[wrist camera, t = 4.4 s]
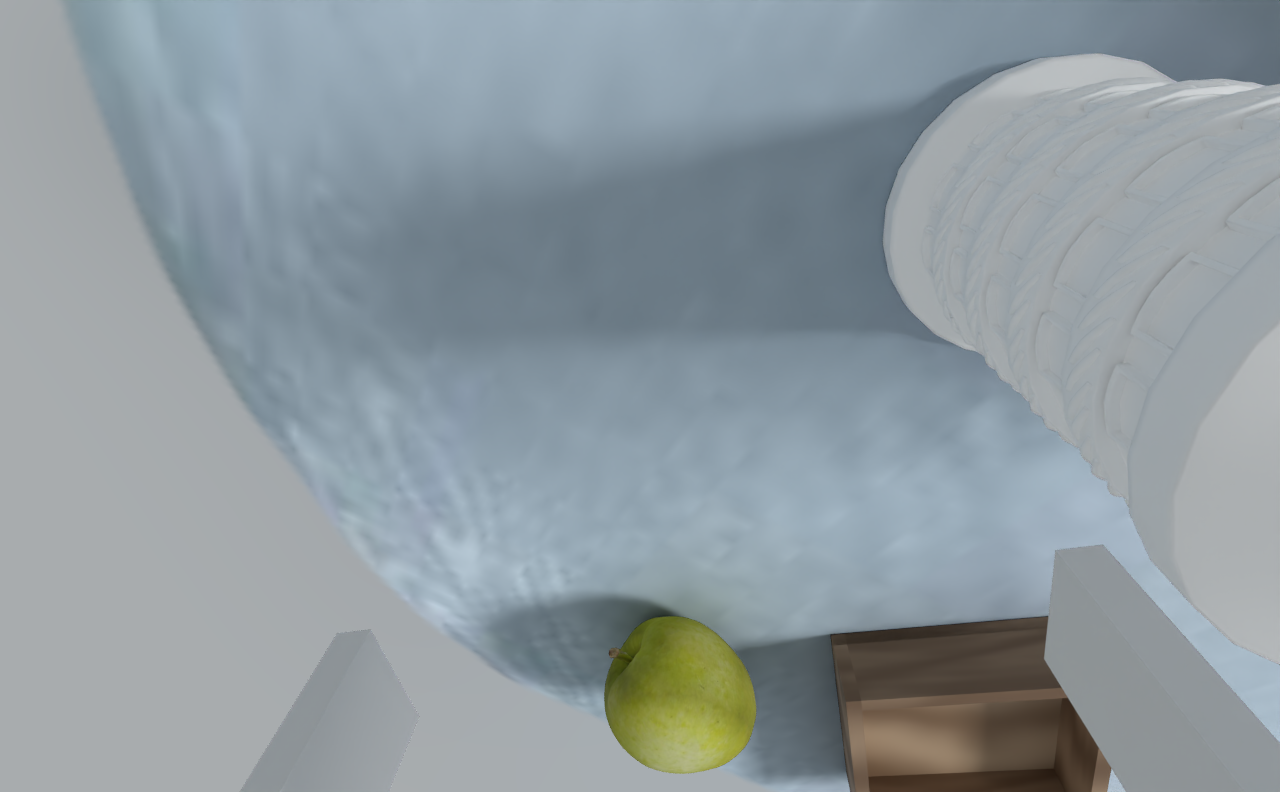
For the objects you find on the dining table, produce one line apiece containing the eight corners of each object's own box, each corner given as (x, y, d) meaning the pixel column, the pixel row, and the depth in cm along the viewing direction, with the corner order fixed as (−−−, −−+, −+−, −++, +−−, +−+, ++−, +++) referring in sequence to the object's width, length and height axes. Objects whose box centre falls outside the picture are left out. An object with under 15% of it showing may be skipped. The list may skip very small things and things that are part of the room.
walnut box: (830, 634, 38) (845, 701, 34) (1078, 614, 35) (1127, 683, 31) (846, 772, 43) (861, 843, 39) (1060, 763, 41) (1098, 837, 37)
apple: (644, 561, 36) (630, 681, 29) (774, 626, 38) (791, 755, 31) (582, 639, 40) (556, 763, 33) (704, 696, 41) (704, 826, 34)
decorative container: (1238, 226, 25) (2153, 495, 9) (971, 391, 30) (1287, 768, 14) (1106, -25, 22) (2182, -269, 6) (826, 203, 26) (1021, 413, 10)
